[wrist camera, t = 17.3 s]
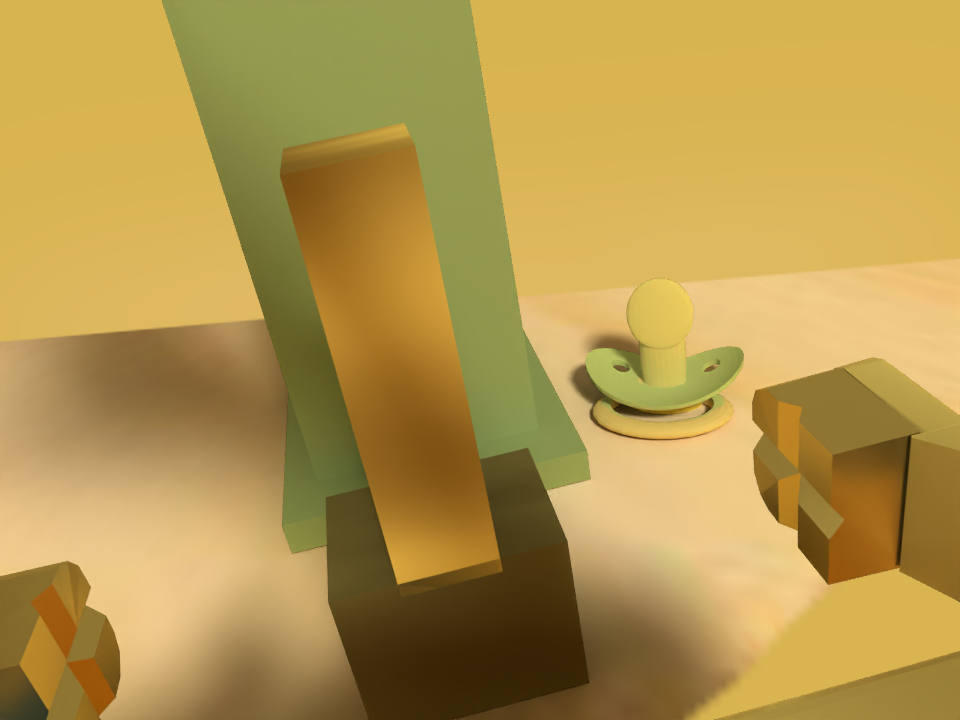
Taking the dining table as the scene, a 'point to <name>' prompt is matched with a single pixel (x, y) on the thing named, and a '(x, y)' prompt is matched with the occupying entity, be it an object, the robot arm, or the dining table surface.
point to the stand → (448, 189)
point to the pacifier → (662, 369)
